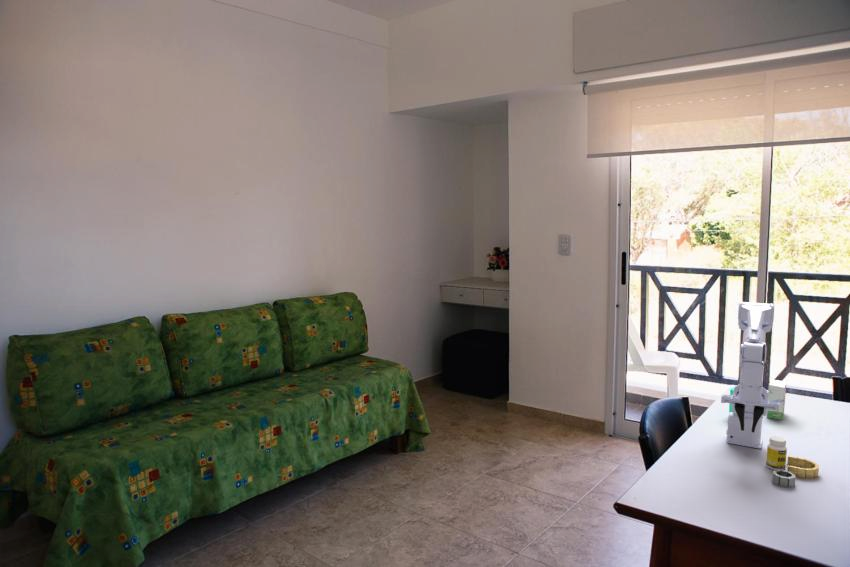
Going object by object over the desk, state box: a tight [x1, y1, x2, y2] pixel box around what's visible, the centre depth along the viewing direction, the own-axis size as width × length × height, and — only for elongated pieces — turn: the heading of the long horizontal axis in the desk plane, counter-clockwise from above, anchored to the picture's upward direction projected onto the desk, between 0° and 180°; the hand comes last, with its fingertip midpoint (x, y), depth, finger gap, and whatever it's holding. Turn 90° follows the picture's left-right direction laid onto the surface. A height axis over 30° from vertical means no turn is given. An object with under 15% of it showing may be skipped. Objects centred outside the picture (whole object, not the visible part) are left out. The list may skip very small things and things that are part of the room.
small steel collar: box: [771, 469, 796, 489], centre depth 161 cm, size 5×5×2 cm
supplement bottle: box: [765, 435, 788, 471], centre depth 170 cm, size 5×5×8 cm
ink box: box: [766, 379, 787, 421], centre depth 211 cm, size 8×5×12 cm, turn 146°
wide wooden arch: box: [786, 455, 820, 480], centre depth 167 cm, size 7×8×2 cm
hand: (747, 430), depth 173 cm, fingers open, 2 cm apart
